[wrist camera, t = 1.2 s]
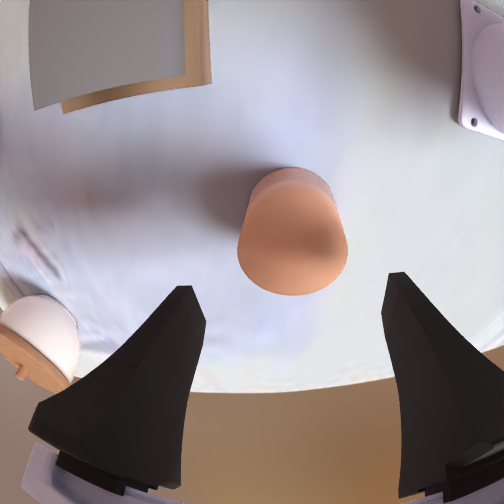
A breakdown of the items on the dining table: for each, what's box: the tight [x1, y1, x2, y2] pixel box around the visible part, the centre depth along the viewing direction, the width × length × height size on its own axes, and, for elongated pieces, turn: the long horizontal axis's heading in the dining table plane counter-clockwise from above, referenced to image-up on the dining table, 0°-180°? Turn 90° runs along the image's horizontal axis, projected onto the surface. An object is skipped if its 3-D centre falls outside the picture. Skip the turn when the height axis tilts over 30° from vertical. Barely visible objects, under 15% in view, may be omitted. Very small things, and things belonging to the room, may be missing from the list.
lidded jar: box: [0, 294, 81, 394], centre depth 23 cm, size 11×11×9 cm
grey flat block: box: [29, 0, 186, 110], centre depth 8 cm, size 7×7×2 cm
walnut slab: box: [61, 0, 212, 114], centre depth 10 cm, size 8×8×2 cm
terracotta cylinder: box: [237, 167, 348, 296], centre depth 14 cm, size 5×5×4 cm
